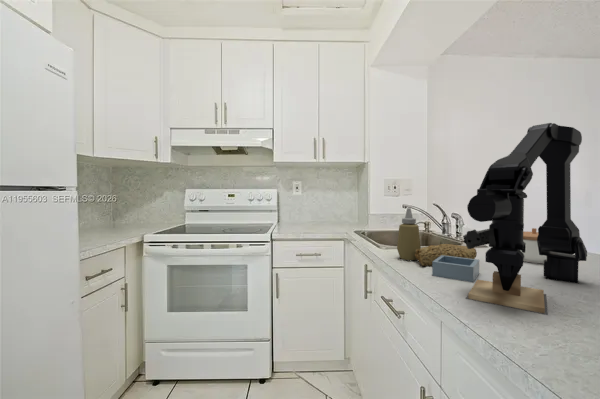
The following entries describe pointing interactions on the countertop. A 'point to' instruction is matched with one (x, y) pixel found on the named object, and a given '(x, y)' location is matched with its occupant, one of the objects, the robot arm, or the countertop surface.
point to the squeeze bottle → (408, 237)
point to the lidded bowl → (532, 248)
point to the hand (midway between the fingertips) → (506, 288)
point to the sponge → (443, 253)
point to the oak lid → (508, 294)
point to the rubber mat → (518, 308)
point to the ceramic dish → (456, 268)
